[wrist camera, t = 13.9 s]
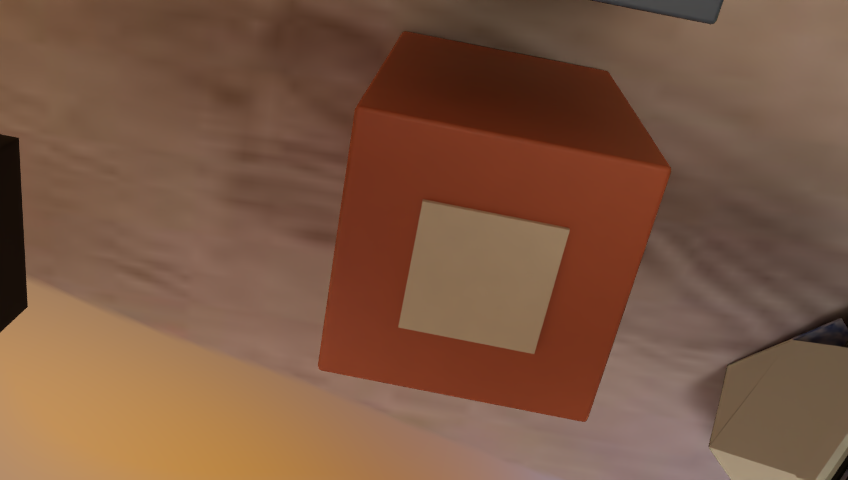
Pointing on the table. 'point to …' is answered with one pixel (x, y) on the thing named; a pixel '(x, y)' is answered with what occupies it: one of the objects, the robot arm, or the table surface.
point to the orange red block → (489, 227)
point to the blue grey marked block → (675, 8)
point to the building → (787, 410)
